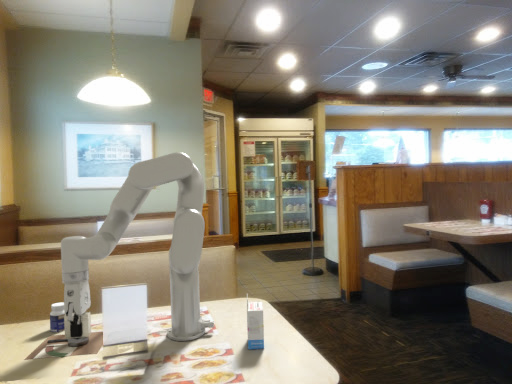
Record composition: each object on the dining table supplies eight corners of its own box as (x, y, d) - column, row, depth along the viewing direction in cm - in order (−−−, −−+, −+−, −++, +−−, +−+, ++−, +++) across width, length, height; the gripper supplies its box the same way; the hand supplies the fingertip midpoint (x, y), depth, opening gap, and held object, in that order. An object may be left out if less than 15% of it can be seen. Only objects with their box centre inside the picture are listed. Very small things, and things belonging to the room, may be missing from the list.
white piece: (93, 337, 119) (92, 310, 118) (87, 345, 113) (85, 316, 112) (52, 340, 117) (51, 312, 117) (43, 349, 111) (42, 319, 111)
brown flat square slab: (112, 334, 125) (112, 330, 125) (96, 358, 107) (96, 353, 107) (50, 339, 122) (49, 334, 122) (23, 364, 105) (23, 359, 105)
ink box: (264, 349, 110) (263, 300, 109) (248, 350, 110) (246, 300, 109) (263, 337, 118) (261, 291, 118) (247, 338, 118) (246, 292, 118)
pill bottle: (61, 336, 124) (59, 307, 124) (46, 335, 125) (45, 306, 125) (72, 329, 130) (71, 301, 130) (58, 328, 131) (57, 301, 131)
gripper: (79, 282, 107) (81, 344, 108) (96, 269, 123) (98, 324, 124) (51, 283, 106) (54, 346, 107) (72, 270, 122) (75, 325, 123)
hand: (78, 334), depth 115 cm, fingers closed on white piece, 2 cm apart
